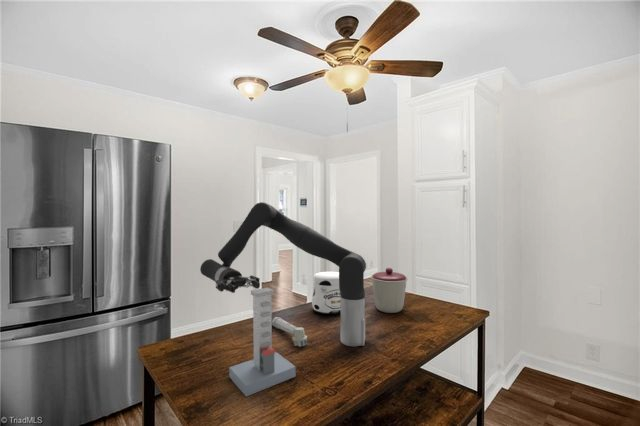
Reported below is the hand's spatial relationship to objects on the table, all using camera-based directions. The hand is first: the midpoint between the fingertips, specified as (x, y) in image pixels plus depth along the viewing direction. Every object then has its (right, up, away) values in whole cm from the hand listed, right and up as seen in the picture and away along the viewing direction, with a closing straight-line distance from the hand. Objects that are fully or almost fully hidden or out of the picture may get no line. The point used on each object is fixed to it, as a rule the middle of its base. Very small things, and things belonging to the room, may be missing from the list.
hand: (246, 287), depth 100 cm
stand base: (+7, -25, -8) cm, 27 cm away
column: (+7, -22, -8) cm, 24 cm away
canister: (+59, -24, +52) cm, 82 cm away
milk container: (+29, -24, +50) cm, 63 cm away
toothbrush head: (+12, -25, +22) cm, 35 cm away
